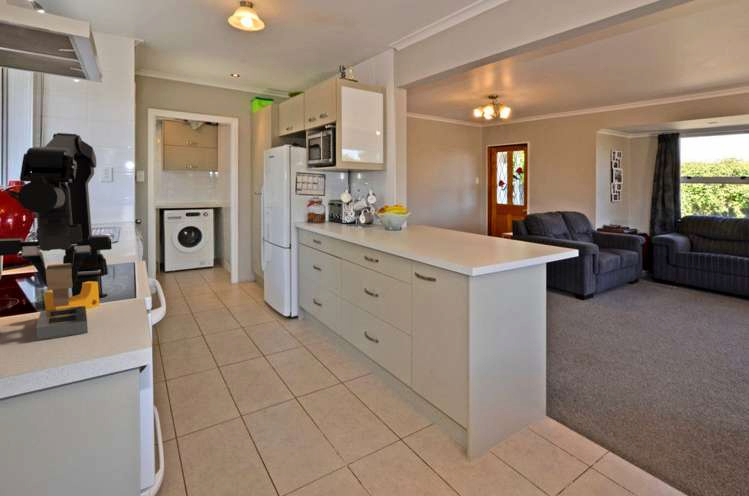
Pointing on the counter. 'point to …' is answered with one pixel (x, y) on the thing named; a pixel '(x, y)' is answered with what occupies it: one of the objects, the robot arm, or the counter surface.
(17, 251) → the robot arm
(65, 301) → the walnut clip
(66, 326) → the rail plate
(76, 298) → the pipe clamp
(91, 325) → the counter surface
